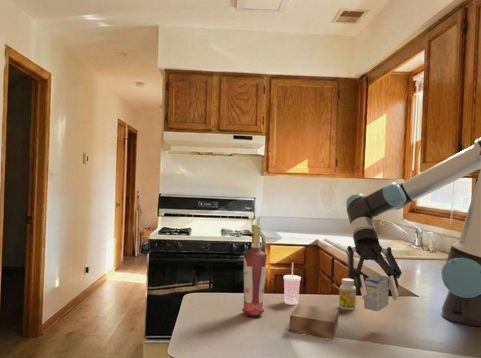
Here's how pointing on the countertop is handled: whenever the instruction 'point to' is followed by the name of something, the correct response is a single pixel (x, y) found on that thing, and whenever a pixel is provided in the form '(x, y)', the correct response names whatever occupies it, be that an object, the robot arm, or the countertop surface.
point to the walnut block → (314, 321)
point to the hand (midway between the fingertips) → (380, 297)
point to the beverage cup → (291, 288)
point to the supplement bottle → (347, 294)
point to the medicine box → (376, 292)
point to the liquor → (254, 276)
